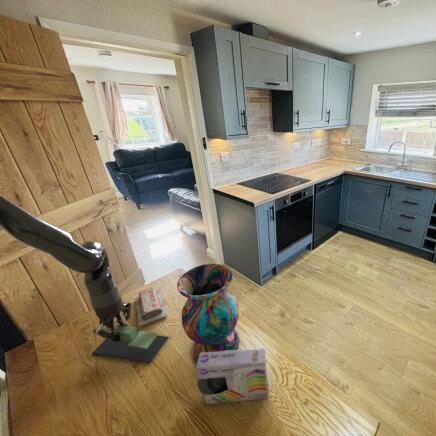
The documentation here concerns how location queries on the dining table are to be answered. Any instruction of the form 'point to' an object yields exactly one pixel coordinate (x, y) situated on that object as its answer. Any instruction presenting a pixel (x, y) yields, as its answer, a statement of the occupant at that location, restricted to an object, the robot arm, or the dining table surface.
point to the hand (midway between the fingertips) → (121, 336)
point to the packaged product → (149, 306)
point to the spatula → (135, 336)
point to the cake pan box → (232, 375)
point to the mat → (130, 349)
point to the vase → (209, 309)
